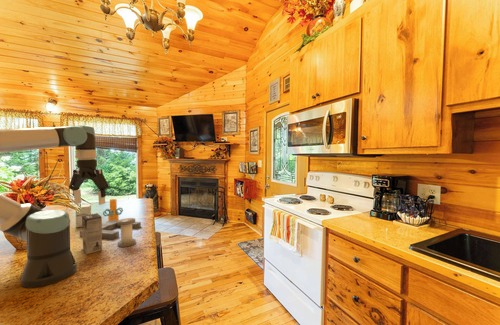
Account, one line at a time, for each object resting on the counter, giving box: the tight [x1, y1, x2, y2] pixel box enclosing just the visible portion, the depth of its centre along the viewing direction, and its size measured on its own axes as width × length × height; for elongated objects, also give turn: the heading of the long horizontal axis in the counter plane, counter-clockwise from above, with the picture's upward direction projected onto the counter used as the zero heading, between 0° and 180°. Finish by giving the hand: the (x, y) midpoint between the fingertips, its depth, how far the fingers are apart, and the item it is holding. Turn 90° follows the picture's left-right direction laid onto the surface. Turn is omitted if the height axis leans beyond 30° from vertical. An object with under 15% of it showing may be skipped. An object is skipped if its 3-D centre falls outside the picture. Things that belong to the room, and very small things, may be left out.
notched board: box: [79, 220, 142, 240], centre depth 127 cm, size 21×22×3 cm
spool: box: [117, 217, 137, 248], centre depth 108 cm, size 8×8×12 cm
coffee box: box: [81, 212, 103, 255], centre depth 102 cm, size 9×6×16 cm
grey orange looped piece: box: [102, 198, 124, 221], centre depth 147 cm, size 12×10×15 cm
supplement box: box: [75, 204, 92, 228], centre depth 139 cm, size 7×7×13 cm
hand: (90, 203), depth 102 cm, fingers open, 13 cm apart
